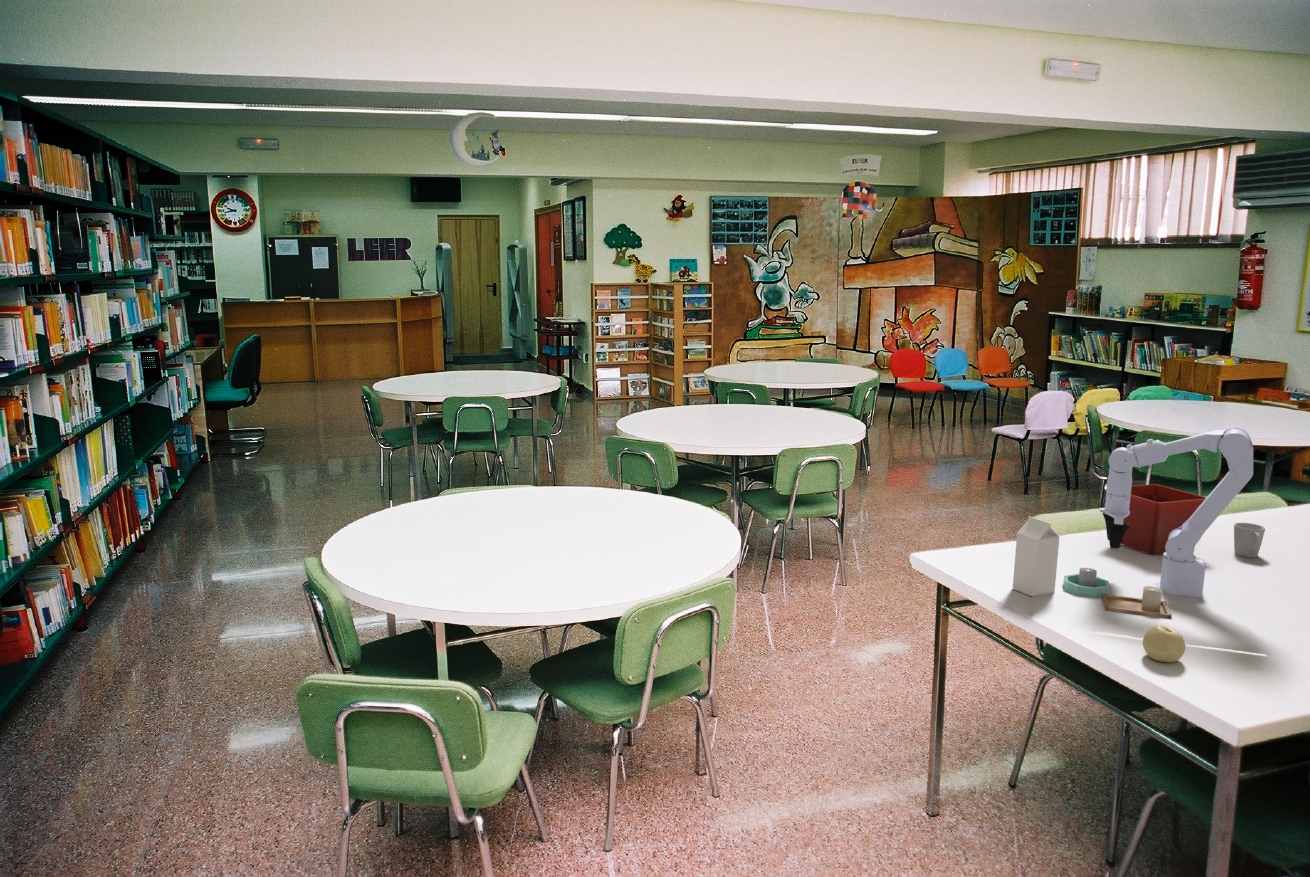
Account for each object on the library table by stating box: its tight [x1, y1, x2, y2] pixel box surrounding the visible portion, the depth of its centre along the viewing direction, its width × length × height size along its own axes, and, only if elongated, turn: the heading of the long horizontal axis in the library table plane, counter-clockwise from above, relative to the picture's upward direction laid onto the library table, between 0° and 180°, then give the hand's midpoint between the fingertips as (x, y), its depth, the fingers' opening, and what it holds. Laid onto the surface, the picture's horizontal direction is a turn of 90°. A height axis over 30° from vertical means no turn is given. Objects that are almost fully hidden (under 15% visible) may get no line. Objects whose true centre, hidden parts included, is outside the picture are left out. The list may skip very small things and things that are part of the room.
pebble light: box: [1141, 585, 1163, 612], centre depth 223 cm, size 4×4×5 cm
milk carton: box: [1012, 515, 1060, 598], centre depth 235 cm, size 7×7×19 cm
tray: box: [1101, 594, 1172, 619], centre depth 225 cm, size 14×10×1 cm
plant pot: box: [1121, 483, 1207, 556], centre depth 272 cm, size 19×19×17 cm
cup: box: [1233, 522, 1266, 558], centre depth 266 cm, size 8×10×8 cm
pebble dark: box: [1078, 567, 1098, 587], centre depth 237 cm, size 4×4×5 cm
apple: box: [1142, 624, 1186, 663], centre depth 196 cm, size 8×8×8 cm
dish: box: [1063, 573, 1111, 598], centre depth 237 cm, size 10×10×3 cm
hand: (1113, 544), depth 244 cm, fingers open, 7 cm apart
